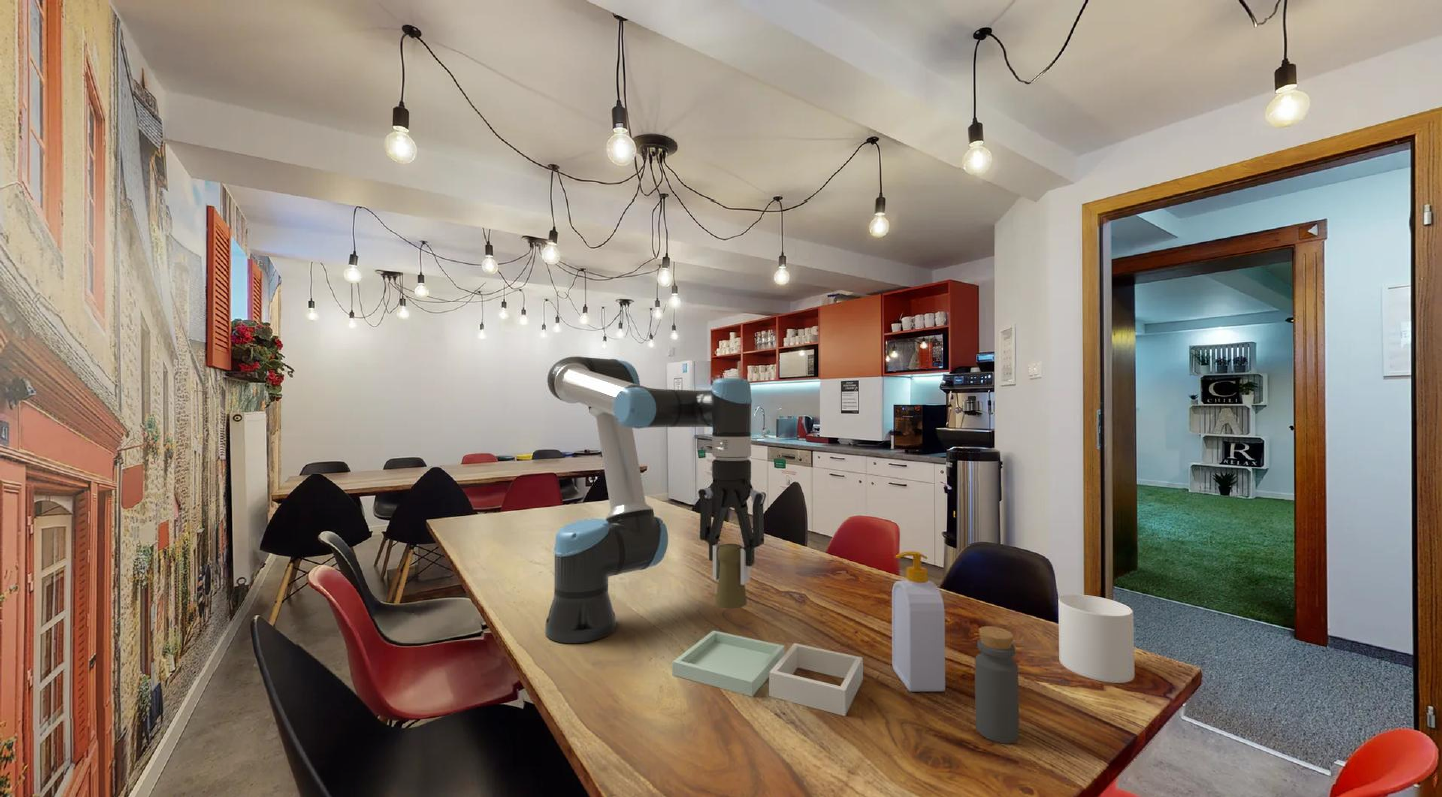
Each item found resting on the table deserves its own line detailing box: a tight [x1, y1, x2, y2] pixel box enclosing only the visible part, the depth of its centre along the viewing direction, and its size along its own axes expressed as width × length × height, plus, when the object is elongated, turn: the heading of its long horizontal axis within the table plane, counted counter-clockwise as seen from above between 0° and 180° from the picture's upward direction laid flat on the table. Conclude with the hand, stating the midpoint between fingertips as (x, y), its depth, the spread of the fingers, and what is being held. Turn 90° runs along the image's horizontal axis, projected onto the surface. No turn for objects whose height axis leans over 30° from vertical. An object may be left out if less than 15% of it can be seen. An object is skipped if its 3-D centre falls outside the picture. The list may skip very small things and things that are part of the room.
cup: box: [1058, 593, 1135, 684], centre depth 101 cm, size 12×12×12 cm
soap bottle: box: [891, 550, 946, 692], centre depth 96 cm, size 9×7×23 cm
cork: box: [715, 543, 748, 609], centre depth 101 cm, size 6×6×11 cm
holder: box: [768, 643, 864, 717], centre depth 93 cm, size 13×13×4 cm
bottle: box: [974, 625, 1020, 745], centre depth 80 cm, size 6×6×15 cm
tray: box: [671, 629, 786, 697], centre depth 101 cm, size 16×16×2 cm
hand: (731, 580), depth 101 cm, fingers closed on cork, 5 cm apart
